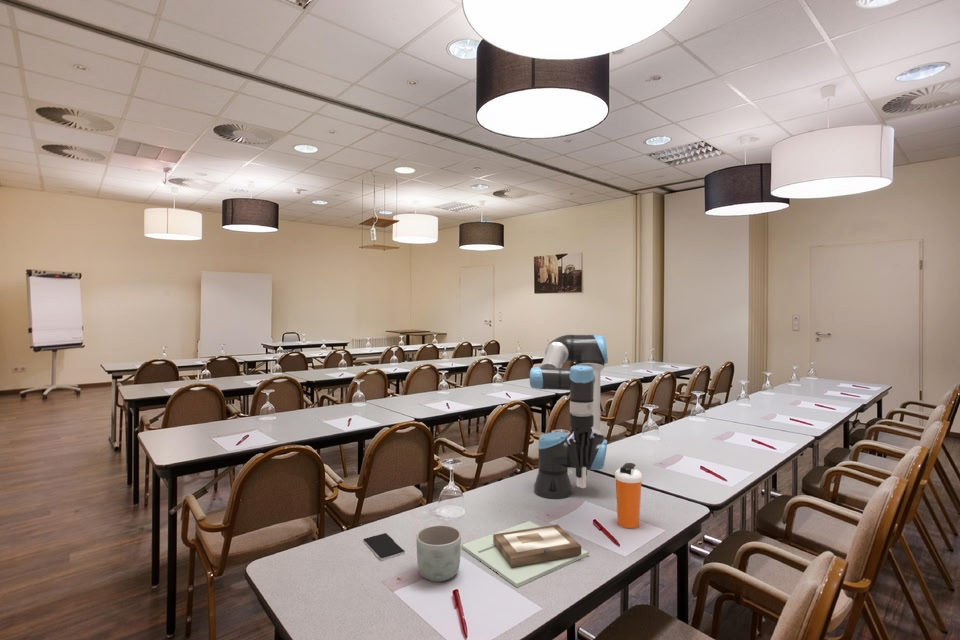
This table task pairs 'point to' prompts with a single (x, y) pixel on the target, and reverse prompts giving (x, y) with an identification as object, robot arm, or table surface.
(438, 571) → the planter
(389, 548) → the smartphone
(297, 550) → the table surface
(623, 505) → the shaker bottle
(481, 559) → the wall panel
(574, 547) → the frame
